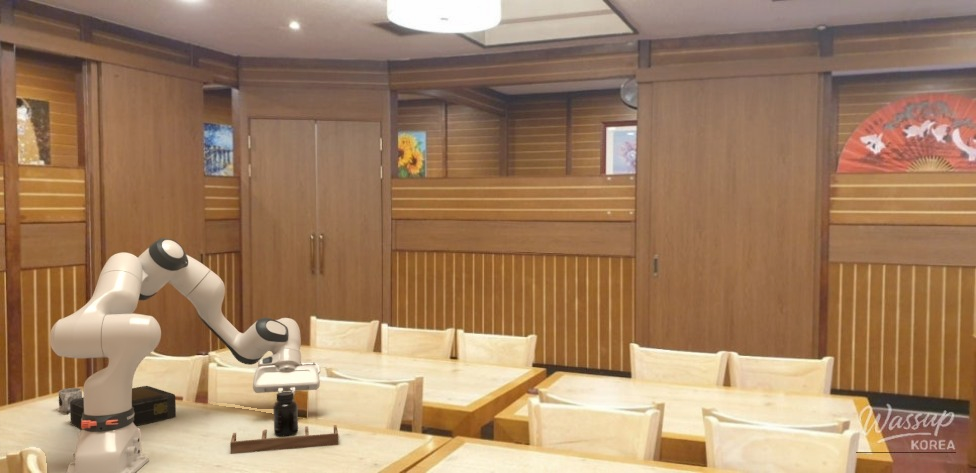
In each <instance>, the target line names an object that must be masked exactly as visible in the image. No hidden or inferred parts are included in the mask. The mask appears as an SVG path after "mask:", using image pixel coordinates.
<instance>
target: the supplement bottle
mask: <svg viewBox="0 0 976 473" xmlns="http://www.w3.org/2000/svg"><path fill="white" fill-rule="evenodd" d="M294 399H295V397H294V396H293V392H291V391H284V392H280V393H278V392H277V393H276V401H277V402H275V404H273V433H274V435H275V436H276V437H290V436H296V435H297V433H298V432H299V418H298V412H299V411H298V403H297V402H296V401H295V400H294Z"/></svg>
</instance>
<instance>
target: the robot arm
mask: <svg viewBox="0 0 976 473" xmlns="http://www.w3.org/2000/svg"><path fill="white" fill-rule="evenodd" d="M166 284H169V285H172V287H173V288H174V289H175V290H177V291H178V292H179V293H180V294H181V295H182V296H184V297H185V298H186V299H187V300H188V301H189V302H191V304H192V305H193V306H194V308H195V310H196V314H197V316H198V318H199V319H200V321H202V323H203V324H204V325H205V326H206V327H207V328H208V329H209V330H210V331H211V332H212V334H214V335H215V336H216V337H217V339H219V340H220V341H221V342H222V343H223V344H224V345H225V346H226V347H227V349H229V351H230V352H231V354H232V355H233V357H234V358H235V359H236V360H237V362H239V363H241V364H244V365H251V366H252V365H255V364H258V365H257V368H256V369H255V372H254V375H253V383H252V389H253V392H254V393H255V394H262V393H277V394H278V393H280V392H293V397H294V396H295V394H296V392H299V391H317V390H318V389H319V388H320V386H321V383H320V381H321V380H320V375H319V374H320V373H321V366H320V364H318V363H316V362H302V354H301V350H300V349H301V346H302V345H301V344H302V342H301V341H302V339H301V336H302V335H301V330H300V327H299V324H298V323H297V321H296V320H295V319H292V318H291V317H290V318H288V317H281V318H279V319H273V318H270V317H261V318H258V319H257V320H256V321H255V322H254V323H253V324H252V325H251V326H249V328H247V330H245V331H244V332H240V331H238V329H237V328H236V327H235V326H234V325H233V324H232V323H231V322H230V321H229V320H228V319H227V317H225V315H224V314H223V312H222V306H223V302H224V298H225V295H226V286H225V283H224V282H223V280H222V279H221V276H219V275H218V274H216V273H215V272H214V271H213V270H211V269H210V268H209V267H207V266H206V265H205V264H203V263H202V262H200V261H199V260H197V259H195V258H193V257H192V256H190V255H188V254H187V253H186V251H185V249H184V248H183V246H182V245H181V244H180V243H178V242H177V241H176V240H174V239H171V238H165V237H164V238H159V239H157V240H155V241H154V242H152V243H151V244H150V245H149V246H148V248H146V250H144V251H143V252H142V253H141V254H139V256H138V257H137V256H136V255H135V254H132V253H130V252H125V251H124V252H118V253H115V254H113V255H111V256H110V257H109V258H108V259H107V261H106V262H105V264H104V266H103V268H102V269H101V271H100V274H99V276H98V280H97V282H96V287H95V289H94V292H93V294H92V296H91V298H90V299H89V300H88V301H87V303H86V304H85V305H84V306H82V307H80V308H79V309H78V310H76V311H75V312H74V313H72V314H70V315H68V316H66V317H62V318H60V319H58V320H57V321H56V322H55V323H54V324H53V326H52V328H51V330H50V332H49V343H50V344H49V345H50V347H51V349H52V351H53V352H54V353H55V354H56V355H57V356H58V357H63V358H69V359H70V358H71V359H97V358H98V359H99V358H105V359H106V358H108V365H107V366H106V367H104V368H103V369H100V370H99V371H97V372H95V373H92V374H91V375H90V376H89V377H87V379H86V380H85V381H84V384H83V388H82V389H83V390H82V393H83V397H84V412H83V413H82V419H81V428H82V429H81V428H80V429H81V431H79V432H78V434H77V444H76V450H75V452H73V458H74V461H70V463H68V467H67V471H66V473H136V472H138V470H140V469H141V468H143V466H145V465H146V464H147V463H148V462H149V461H150V459H149V458H150V457H149V456H148V455H146V454H143V447H142V446H143V445H142V433H141V429H140V428H139V426H135V424H134V423H133V421H134V408H133V407H132V388H133V381H134V377H135V374H136V372H137V368H138V367H139V366H140V364H141V363H142V362H143V360H144V359H145V358H146V357H147V356H148V355H150V354H151V353H152V352H153V351H155V350H156V348H157V347H158V346H159V344H160V341H161V338H162V329H161V326H160V323H159V322H158V321H157V319H156V318H155V317H154V316H152V315H146V314H142V313H141V314H140V313H135V310H136V309H137V307H138V303H139V301H146V300H149V299H150V298H152V297H153V296H155V295H156V294H157V293H158V292H159V291H160V290H161V289H163V287H164V286H166ZM268 352H271V353H272V355H269V356H266V357H264V356H265V354H267V353H268Z"/></svg>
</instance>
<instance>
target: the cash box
mask: <svg viewBox="0 0 976 473" xmlns="http://www.w3.org/2000/svg"><path fill="white" fill-rule="evenodd" d="M132 407H133V408H134V421H133V423H134V424H135V426H136V427H139V426H143V425H148V424H151V423H152V424H153V423H157V422H161V421H165V420H168V419H169V420H171V419H173V418H176V416H177V415H176V413H177V412H176V409H177V407H176V395H175V393H171V392H169V391H166V390H162V389H159V388H156V387H153V386H150V385H143V386H138V387H132ZM83 412H84V396H82V398H78V399H73V400H71V402H70V414H69V415H70V424H71V425H72V426H74V427H76V428H79V429H81V430H83V429H82V428H81V419H82V413H83Z"/></svg>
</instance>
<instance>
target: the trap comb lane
mask: <svg viewBox="0 0 976 473" xmlns="http://www.w3.org/2000/svg"><path fill="white" fill-rule="evenodd" d="M267 432H268V430H267V429H263V430H262V434H261V438H258V439H248V440H247V439H246V440H237V432H233V433H232V436H231V440H230V443H229V444H230V454H231V455H232V454H241V453H242V454H243V453H245V454H246V453H254V452H255V451H257V452H266V451H267V452H268V451H278V450H291V449H292V450H293V449H302V448H315V447H328V446H339V431H338V426H337V424H334V425H333V432H332V433H322V434H321V433H320V434H311V435H310V433H309V426H307V425H306V426H305V427H304V432H305V433H304V434H305V435H304V434H303V435H292V436H287V437H279V436H277V437H267Z"/></svg>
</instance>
